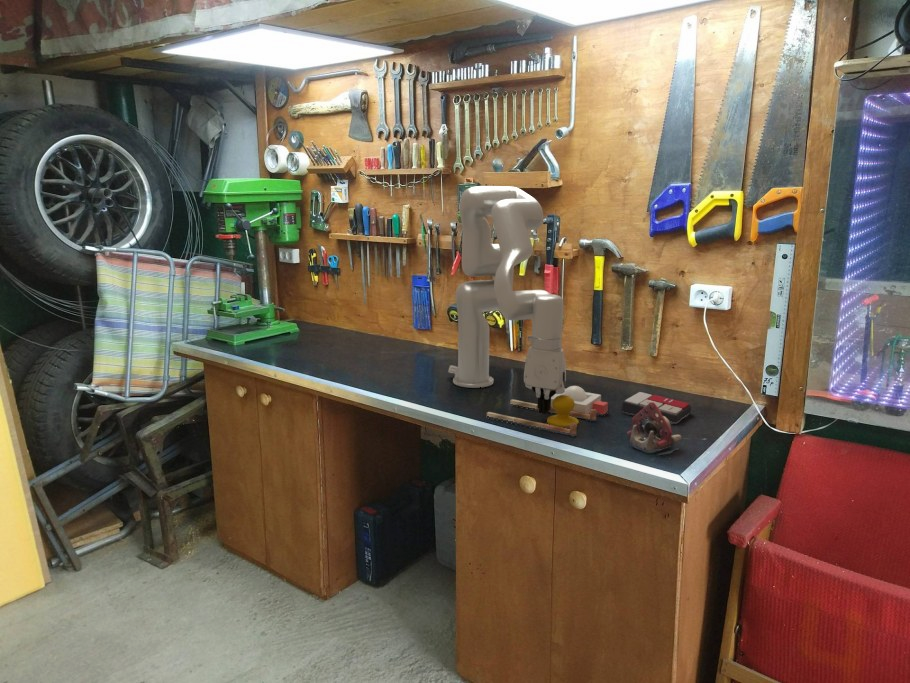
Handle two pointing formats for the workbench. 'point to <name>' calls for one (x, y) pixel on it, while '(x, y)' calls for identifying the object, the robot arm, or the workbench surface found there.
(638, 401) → the grey red flat block
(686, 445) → the workbench surface
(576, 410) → the dome base
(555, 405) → the doorknob
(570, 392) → the dome
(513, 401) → the wooden brackets
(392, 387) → the workbench surface
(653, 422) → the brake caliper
